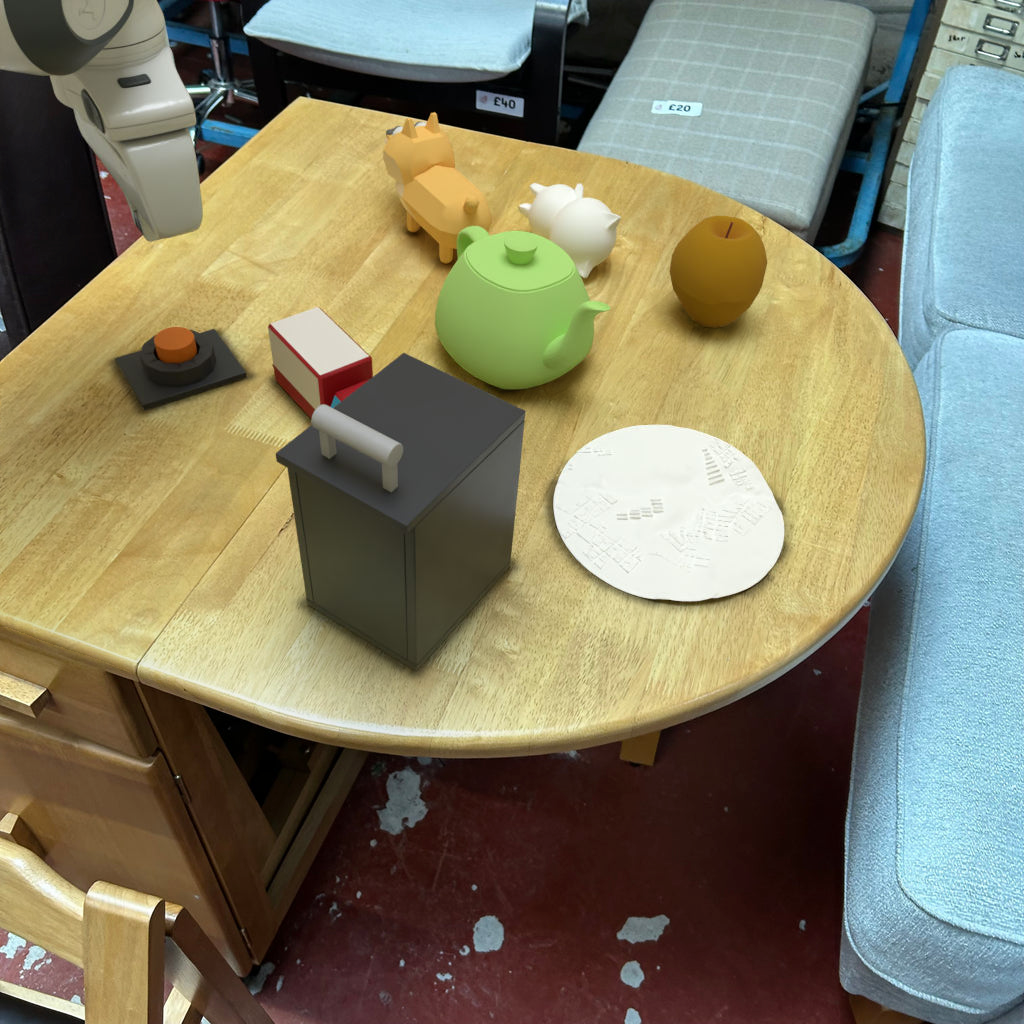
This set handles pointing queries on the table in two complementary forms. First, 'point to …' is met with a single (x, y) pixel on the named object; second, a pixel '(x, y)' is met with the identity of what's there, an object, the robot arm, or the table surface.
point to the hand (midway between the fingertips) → (151, 232)
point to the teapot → (514, 309)
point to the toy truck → (317, 360)
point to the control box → (179, 371)
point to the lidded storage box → (409, 557)
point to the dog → (433, 184)
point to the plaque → (668, 514)
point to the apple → (718, 270)
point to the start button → (175, 345)
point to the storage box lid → (401, 440)
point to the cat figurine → (573, 223)
